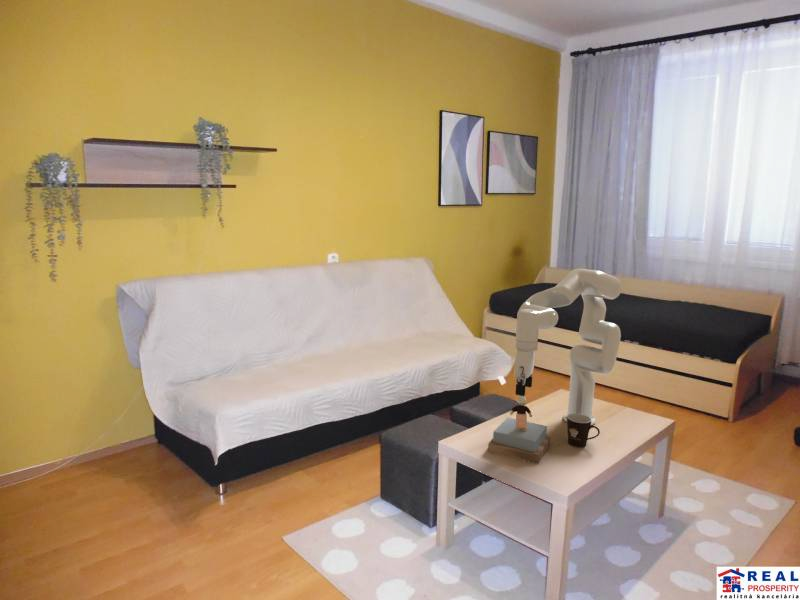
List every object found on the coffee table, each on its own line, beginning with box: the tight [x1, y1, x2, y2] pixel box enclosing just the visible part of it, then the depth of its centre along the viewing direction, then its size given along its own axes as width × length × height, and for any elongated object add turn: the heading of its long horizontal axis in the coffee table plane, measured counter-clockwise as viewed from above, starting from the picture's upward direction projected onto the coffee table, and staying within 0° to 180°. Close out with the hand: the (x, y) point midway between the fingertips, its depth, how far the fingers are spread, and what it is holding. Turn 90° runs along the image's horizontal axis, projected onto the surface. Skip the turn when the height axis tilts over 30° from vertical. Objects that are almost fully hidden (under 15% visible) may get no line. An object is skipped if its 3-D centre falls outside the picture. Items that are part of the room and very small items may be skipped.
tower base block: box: [487, 434, 551, 465], centre depth 201 cm, size 18×18×4 cm
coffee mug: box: [566, 414, 601, 448], centre depth 203 cm, size 12×9×10 cm
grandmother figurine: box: [509, 395, 533, 431], centre depth 198 cm, size 8×4×13 cm, turn 88°
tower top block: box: [492, 417, 548, 452], centre depth 200 cm, size 15×15×4 cm
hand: (523, 390), depth 197 cm, fingers open, 9 cm apart
